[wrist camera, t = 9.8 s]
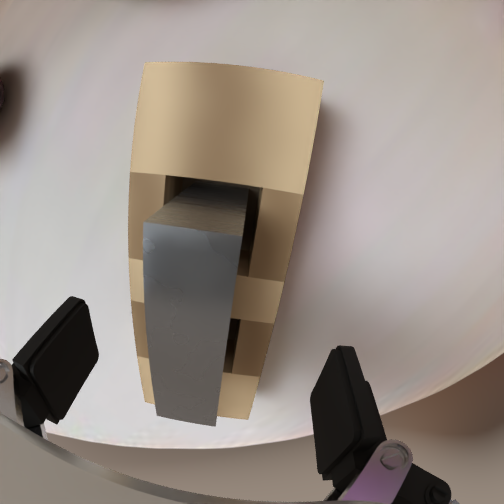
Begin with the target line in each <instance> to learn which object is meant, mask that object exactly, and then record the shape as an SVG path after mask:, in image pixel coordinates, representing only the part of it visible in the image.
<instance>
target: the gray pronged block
mask: <svg viewBox="0 0 504 504" xmlns="http://www.w3.org/2000/svg"><path fill="white" fill-rule="evenodd" d="M248 192H249V188H242V187H236V186H228V185H221V184H214V183H206V182H198V181H196V182H195V183H193V184H192V185H191V186H189V187H188V188H186V189H185V190H184V191H182V192H181V193H180V194H178V195H177V196H176V197H175V198H173V199H172V200H171V201H169V202H168V203H167V204H165V205H164V206H163V207H162V208H160V209H159V210H158V211H157V212H155V213H154V214H153V215H152V216H150V217H149V218H148V219H147V220H145V221H144V222H143V283H144V306H145V322H146V334H147V345H148V355H149V364H150V372H151V380H152V387H153V394H154V401H155V407H156V413H157V416H161V417H165V418H170V419H175V420H180V421H185V422H190V423H196V424H202V425H209V426H215V427H216V419H217V411H218V404H219V396H220V389H221V381H222V374H223V367H224V360H225V352H226V345H227V338H228V331H229V324H230V317H231V310H232V303H233V296H234V290H235V283H236V276H237V269H238V263H239V256H240V249H241V243H242V236H243V229H244V221H245V214H246V207H247V199H248Z"/></svg>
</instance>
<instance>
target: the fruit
mask: <svg viewBox="0 0 504 504" xmlns="http://www.w3.org/2000/svg"><path fill="white" fill-rule="evenodd" d="M3 91H4V87H3V84H2V81H1V79H0V108H1V106H2V104H3V101H4V93H3Z"/></svg>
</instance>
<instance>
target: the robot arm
mask: <svg viewBox="0 0 504 504" xmlns="http://www.w3.org/2000/svg"><path fill="white" fill-rule="evenodd" d="M98 357H99V353H98V349H97V345H96V341H95V336H94V332H93V327H92V323H91V318H90V313H89V308H88V305H87V304H86V303H85V301H84V300H83V299H80V298H76V297H73V296H71V297H69V298H68V299H67V300H66V301H65V302H64V303H63V304H62V305H61V306H60V307H59V308H58V309H57V310H56V311H55V312H54V313H53V314H52V315H51V317H50V318H49V319H48V320H47V321H46V322H45V323H44V324H43V325H42V326H41V327H40V328H39V330H38V331H37V332H36V333H35V334H34V335H33V336H32V337H31V338H30V340H29V341H28V342H27V343H26V344H25V345H24V346H23V348H22V349H21V350H20V351H19V352H18V354H17V355H16V356H15V357H14V358H13V362H14V363H13V364H12V365H11V364H10V363H9V362H8V361H7V360H3V359H0V504H459V503H458V502H457V501H456V500H453V501H452V500H451V490H450V487H449V485H448V484H447V483H446V482H444V481H443V480H441V479H439V478H438V477H436V476H434V475H432V474H430V473H429V472H427V471H425V470H423V469H422V468H420V467H418V466H416V465H415V464H413V463H412V461H413V457H412V452H411V450H410V449H409V447H408V446H407V445H406V444H405V443H403V442H401V441H399V440H392V439H391V440H387V439H386V435H385V432H384V428H383V425H382V421H381V419H380V415H379V412H378V408H377V405H376V402H375V399H374V396H373V393H372V390H371V387H370V384H369V382H368V381H365V379H364V376H363V373H362V370H361V367H360V364H359V361H358V358H357V355H356V352H355V349H354V347H352V346H337V348H336V349H332V350H331V352H330V354H329V357H328V359H327V361H326V363H325V366H324V368H323V370H322V372H321V374H320V376H319V378H318V381H317V383H316V385H315V387H314V389H313V391H312V393H311V397H310V404H311V413H312V421H313V430H314V439H315V449H316V459H317V469H318V473H319V474H322V477H323V480H333V487H334V489H333V490H332V491H331V492H330V493H329V495H328V496H327V497H326V498H325V499H324V501H317V502H269V501H251V500H240V499H239V500H238V499H230V498H222V497H215V496H209V495H203V494H197V493H191V492H186V491H182V490H177V489H173V488H168V487H164V486H161V485H157V484H153V483H150V482H146V481H143V480H139V479H136V478H133V477H130V476H127V475H124V474H121V473H119V472H116V471H113V470H111V469H108V468H105V467H103V466H100V465H98V464H95V463H93V462H91V461H88V460H86V459H84V458H82V457H79V456H77V455H75V454H73V453H71V452H69V451H67V450H65V449H63V448H61V447H59V446H57V445H55V444H53V443H51V442H49V441H48V439H47V435H46V431H45V426H44V421H45V419H47V420H49V421H51V422H53V423H55V424H58V422H59V420H62V419H63V418H64V417H65V415H66V414H67V412H68V410H69V408H70V406H71V405H72V403H73V401H74V399H75V398H76V396H77V394H78V392H79V391H80V389H81V387H82V386H83V384H84V382H85V381H86V379H87V377H88V376H89V374H90V372H91V371H92V369H93V367H94V366H95V364H96V363H97V361H98Z"/></svg>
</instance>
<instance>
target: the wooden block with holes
mask: <svg viewBox="0 0 504 504" xmlns="http://www.w3.org/2000/svg"><path fill="white" fill-rule="evenodd" d="M323 83H324V81H323V80H319V79H314V78H310V77H306V76H301V75H296V74H291V73H286V72H280V71H275V70H269V69H262V68H255V67H247V66H239V65H229V64H217V63H200V62H145V65H144V70H143V75H142V80H141V86H140V92H139V98H138V104H137V111H136V118H135V126H134V135H133V144H132V155H131V168H130V184H129V211H128V250H129V277H130V293H131V306H132V317H133V327H134V336H135V344H136V351H137V358H138V365H139V371H140V377H141V383H142V388H143V394H144V399H145V402H147V403H151V404H155V401H154V394H153V387H152V380H151V372H150V364H149V355H148V345H147V334H146V322H145V306H144V283H143V222H144V221H145V220H147V219H148V218H149V217H150V216H152V215H153V214H154V213H155V212H157V211H158V210H159V209H160V208H162V207H163V206H164V205H165V204H167V203H168V202H169V201H171V200H172V199H173V198H175V197H176V196H177V195H178V194H180V193H181V192H182V191H184V190H185V189H186V188H188V187H189V186H191V185H192V184H193V183H195V182H196V181H198V182H206V183H214V184H221V185H228V186H236V187H242V188H249V192H248V199H247V207H246V214H245V221H244V229H243V236H242V243H241V249H240V256H239V263H238V269H237V276H236V283H235V290H234V296H233V303H232V310H231V317H230V324H229V331H228V338H227V345H226V352H225V360H224V367H223V374H222V381H221V389H220V396H219V404H218V411H217V416H220V417H228V418H237V419H246V420H248V418H249V415H250V411H251V408H252V404H253V401H254V397H255V394H256V390H257V387H258V383H259V380H260V376H261V372H262V369H263V365H264V361H265V357H266V354H267V350H268V346H269V342H270V338H271V334H272V330H273V327H274V323H275V319H276V315H277V311H278V306H279V302H280V298H281V294H282V290H283V286H284V282H285V277H286V273H287V269H288V264H289V260H290V255H291V251H292V247H293V242H294V237H295V233H296V228H297V224H298V219H299V214H300V209H301V204H302V200H303V195H304V190H305V185H306V180H307V174H308V169H309V164H310V159H311V153H312V148H313V142H314V137H315V131H316V125H317V120H318V114H319V108H320V102H321V96H322V89H323Z"/></svg>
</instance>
